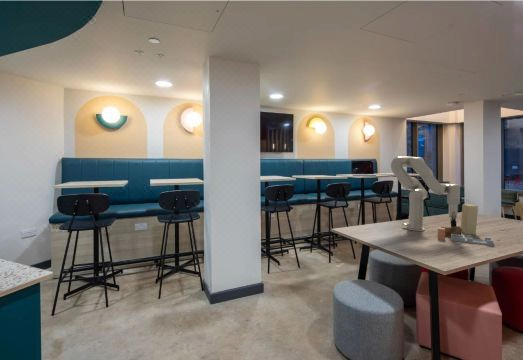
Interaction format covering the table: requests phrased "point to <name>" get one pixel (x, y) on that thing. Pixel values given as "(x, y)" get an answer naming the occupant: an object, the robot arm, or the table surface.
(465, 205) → the toy refrigerator
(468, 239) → the jig
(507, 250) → the table surface
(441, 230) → the brown rectangular brick
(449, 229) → the brown tabbed block
